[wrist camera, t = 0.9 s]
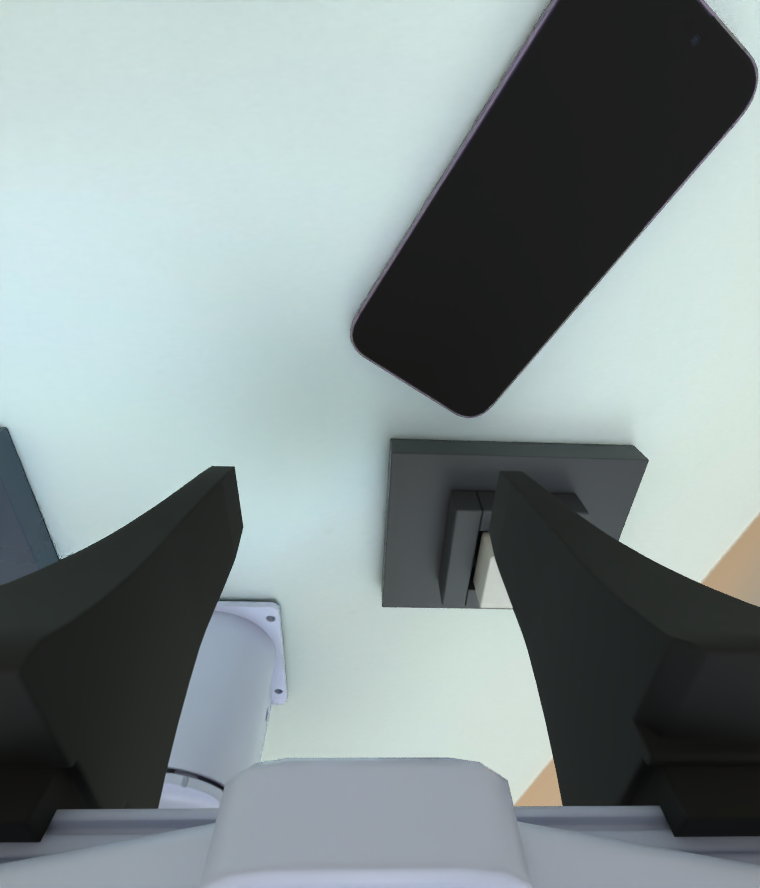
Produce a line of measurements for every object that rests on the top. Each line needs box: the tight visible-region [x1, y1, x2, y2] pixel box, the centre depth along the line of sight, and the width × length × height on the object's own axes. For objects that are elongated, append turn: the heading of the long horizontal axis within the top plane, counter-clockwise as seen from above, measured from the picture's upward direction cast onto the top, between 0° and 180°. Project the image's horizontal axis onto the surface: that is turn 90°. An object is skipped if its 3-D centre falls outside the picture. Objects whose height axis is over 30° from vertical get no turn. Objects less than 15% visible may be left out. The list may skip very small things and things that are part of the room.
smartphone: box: [350, 0, 758, 418], centre depth 17 cm, size 7×1×15 cm
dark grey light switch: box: [382, 439, 649, 609], centre depth 23 cm, size 10×12×3 cm
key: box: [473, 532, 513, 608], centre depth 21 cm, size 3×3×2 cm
